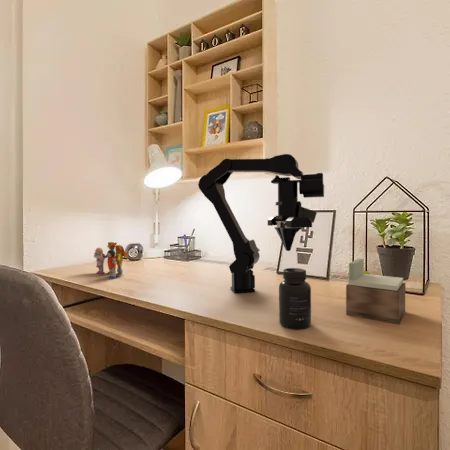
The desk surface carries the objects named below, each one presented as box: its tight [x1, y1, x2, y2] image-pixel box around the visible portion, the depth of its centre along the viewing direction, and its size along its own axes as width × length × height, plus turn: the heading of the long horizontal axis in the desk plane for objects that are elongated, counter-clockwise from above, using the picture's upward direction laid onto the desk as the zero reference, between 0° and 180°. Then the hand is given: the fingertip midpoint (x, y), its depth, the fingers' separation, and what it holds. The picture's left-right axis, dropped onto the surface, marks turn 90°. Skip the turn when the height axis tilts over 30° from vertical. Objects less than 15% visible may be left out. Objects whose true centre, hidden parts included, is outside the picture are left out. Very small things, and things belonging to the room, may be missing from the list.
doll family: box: [93, 241, 130, 280], centre depth 124 cm, size 21×10×13 cm, turn 42°
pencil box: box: [345, 282, 406, 325], centre depth 72 cm, size 11×10×7 cm
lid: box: [348, 258, 404, 291], centre depth 72 cm, size 10×10×5 cm
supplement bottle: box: [278, 267, 312, 330], centre depth 66 cm, size 7×7×12 cm
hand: (288, 250), depth 90 cm, fingers closed
